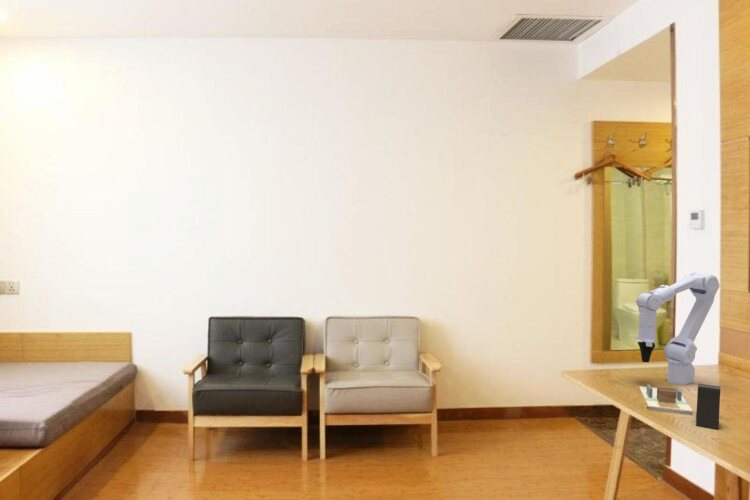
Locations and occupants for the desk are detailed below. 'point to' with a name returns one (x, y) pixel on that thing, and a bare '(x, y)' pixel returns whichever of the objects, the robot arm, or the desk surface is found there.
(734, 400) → the desk surface
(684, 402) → the pad
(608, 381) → the desk surface
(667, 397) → the block
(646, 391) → the board
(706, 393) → the black open bin
